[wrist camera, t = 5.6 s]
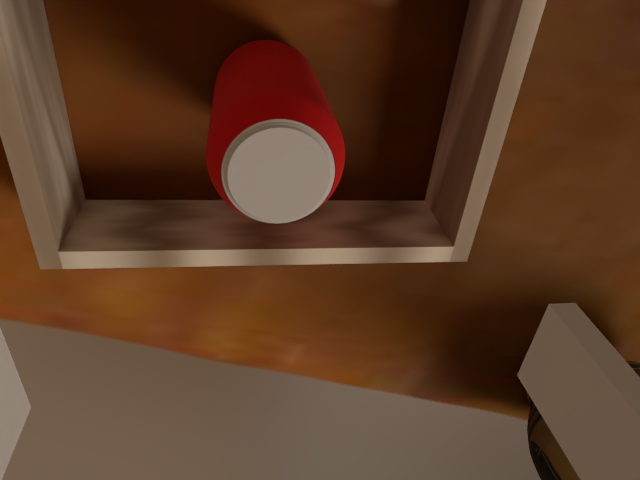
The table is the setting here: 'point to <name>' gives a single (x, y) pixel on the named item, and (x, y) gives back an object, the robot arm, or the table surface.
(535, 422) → the ceramic jug
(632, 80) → the table surface
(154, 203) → the frame
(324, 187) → the beverage can
